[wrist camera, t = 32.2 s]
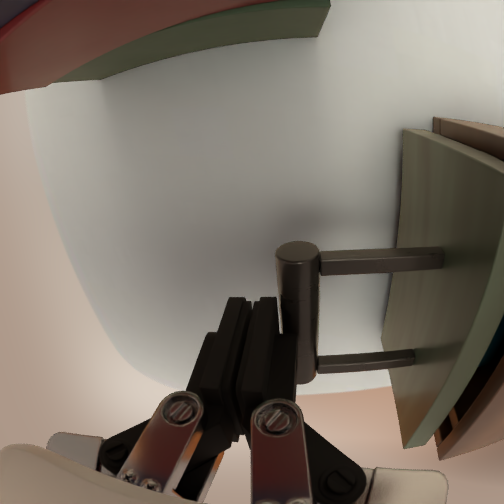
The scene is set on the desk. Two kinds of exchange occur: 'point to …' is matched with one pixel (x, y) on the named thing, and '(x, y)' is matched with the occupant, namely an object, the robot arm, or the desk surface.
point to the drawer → (419, 286)
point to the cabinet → (500, 383)
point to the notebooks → (133, 33)
